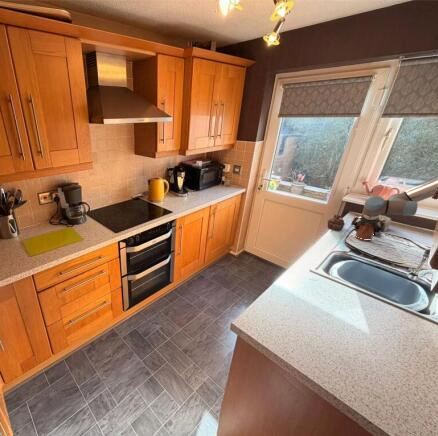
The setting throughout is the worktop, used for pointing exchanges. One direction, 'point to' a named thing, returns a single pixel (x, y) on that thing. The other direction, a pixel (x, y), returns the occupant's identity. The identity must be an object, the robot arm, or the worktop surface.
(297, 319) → the worktop surface
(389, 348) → the worktop surface
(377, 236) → the lid
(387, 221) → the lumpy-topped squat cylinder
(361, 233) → the jar
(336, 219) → the cupcake
